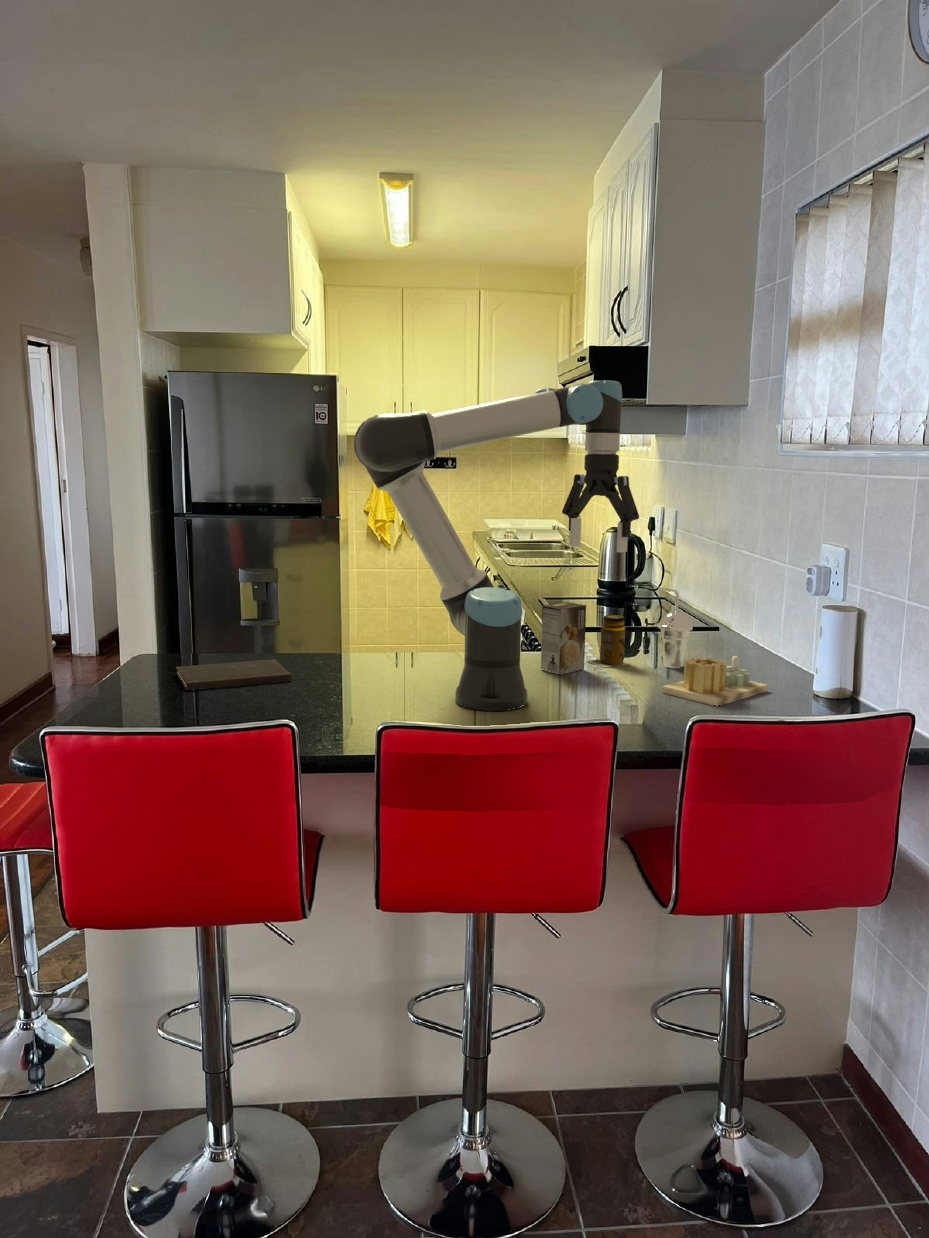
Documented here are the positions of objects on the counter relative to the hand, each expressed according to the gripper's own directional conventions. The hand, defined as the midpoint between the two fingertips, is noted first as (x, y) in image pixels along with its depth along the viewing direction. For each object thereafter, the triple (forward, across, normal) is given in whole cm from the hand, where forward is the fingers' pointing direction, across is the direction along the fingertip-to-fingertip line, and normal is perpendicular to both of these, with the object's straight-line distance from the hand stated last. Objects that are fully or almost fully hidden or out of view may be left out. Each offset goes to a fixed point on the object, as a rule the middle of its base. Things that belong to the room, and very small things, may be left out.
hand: (597, 549), depth 203 cm
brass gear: (+29, -23, -10) cm, 39 cm away
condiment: (+31, +10, -18) cm, 37 cm away
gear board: (+31, -23, -15) cm, 41 cm away
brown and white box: (+31, +12, -3) cm, 33 cm away
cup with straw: (+31, -2, -28) cm, 42 cm away
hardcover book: (+31, +53, +63) cm, 88 cm away
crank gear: (+29, -23, -20) cm, 42 cm away
